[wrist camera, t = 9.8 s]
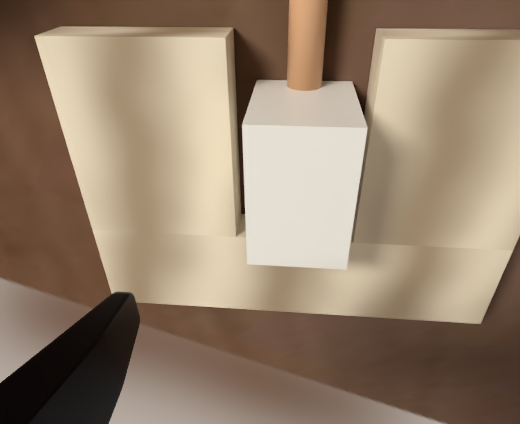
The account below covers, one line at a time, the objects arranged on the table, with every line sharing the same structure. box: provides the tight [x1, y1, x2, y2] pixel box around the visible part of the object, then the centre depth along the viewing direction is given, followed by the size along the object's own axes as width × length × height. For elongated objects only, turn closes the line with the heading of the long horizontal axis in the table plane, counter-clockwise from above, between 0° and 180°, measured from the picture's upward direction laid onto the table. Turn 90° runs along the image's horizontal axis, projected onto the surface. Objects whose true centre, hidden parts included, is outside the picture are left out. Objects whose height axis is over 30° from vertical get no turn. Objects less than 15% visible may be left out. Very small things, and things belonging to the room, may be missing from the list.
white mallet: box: [242, 0, 368, 270], centre depth 14 cm, size 4×15×5 cm, turn 0°
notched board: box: [34, 26, 520, 324], centre depth 19 cm, size 20×14×2 cm
